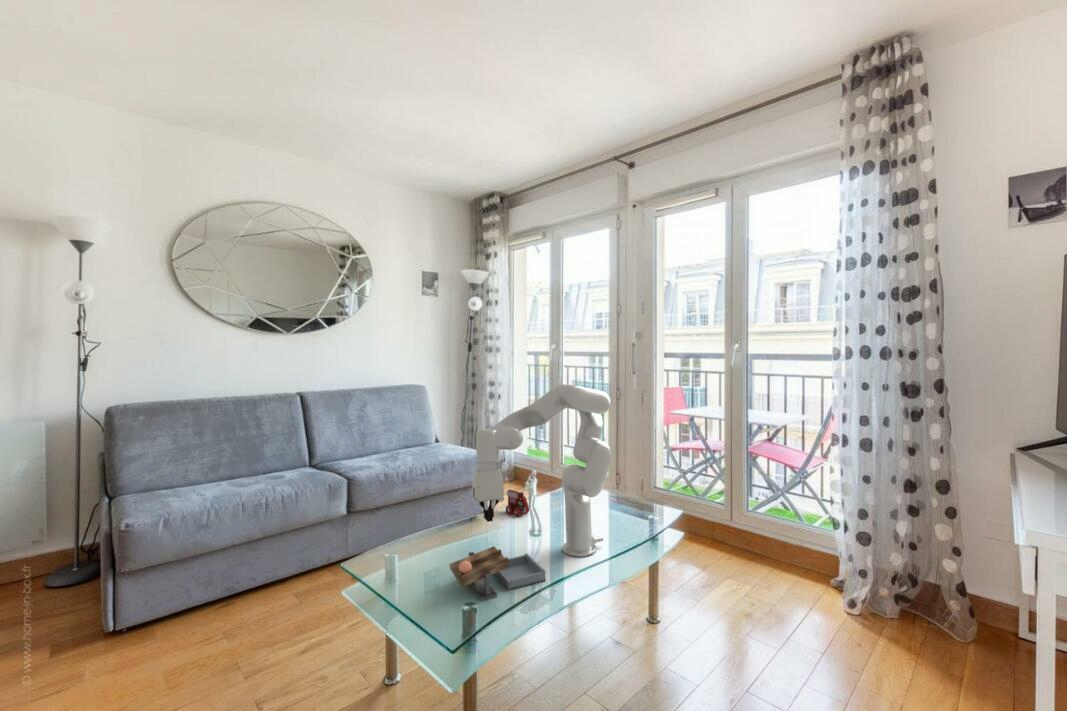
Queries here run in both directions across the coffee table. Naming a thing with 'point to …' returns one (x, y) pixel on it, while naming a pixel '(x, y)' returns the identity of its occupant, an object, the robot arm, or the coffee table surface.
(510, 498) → the red toy vehicle
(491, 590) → the lever stand
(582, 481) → the robot arm
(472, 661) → the coffee table surface
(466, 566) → the ball
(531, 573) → the tray
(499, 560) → the lever
